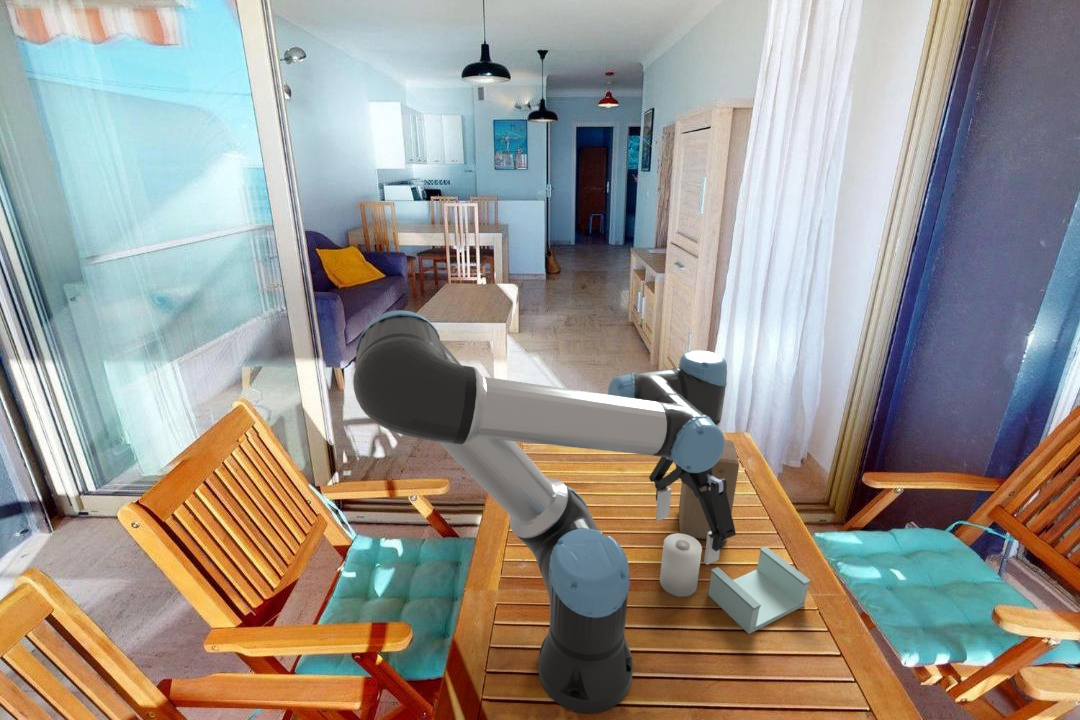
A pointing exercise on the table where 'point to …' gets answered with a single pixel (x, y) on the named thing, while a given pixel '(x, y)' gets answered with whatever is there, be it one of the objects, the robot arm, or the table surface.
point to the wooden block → (690, 505)
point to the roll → (680, 564)
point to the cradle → (760, 592)
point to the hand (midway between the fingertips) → (685, 538)
